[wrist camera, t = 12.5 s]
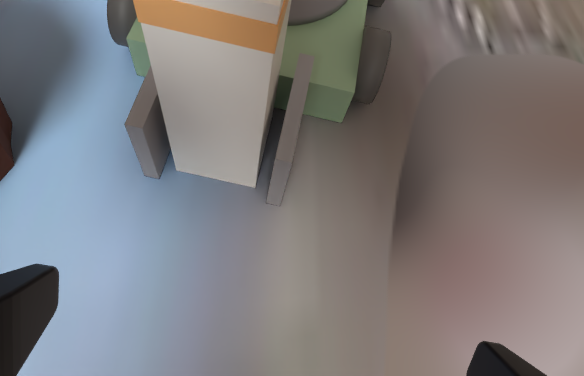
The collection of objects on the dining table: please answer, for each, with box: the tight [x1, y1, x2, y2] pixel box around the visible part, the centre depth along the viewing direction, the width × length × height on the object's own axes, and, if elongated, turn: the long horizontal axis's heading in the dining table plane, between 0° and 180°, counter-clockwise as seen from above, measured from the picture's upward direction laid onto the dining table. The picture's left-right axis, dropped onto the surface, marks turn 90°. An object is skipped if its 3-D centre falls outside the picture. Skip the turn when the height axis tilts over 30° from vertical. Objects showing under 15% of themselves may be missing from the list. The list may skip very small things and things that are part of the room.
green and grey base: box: [107, 0, 391, 206], centre depth 26 cm, size 22×16×5 cm
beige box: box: [133, 0, 291, 188], centre depth 19 cm, size 5×5×12 cm
